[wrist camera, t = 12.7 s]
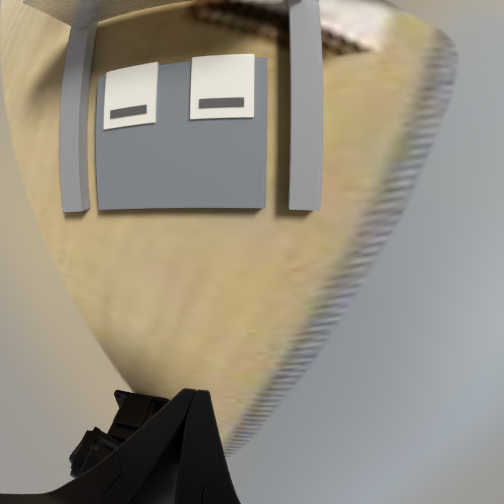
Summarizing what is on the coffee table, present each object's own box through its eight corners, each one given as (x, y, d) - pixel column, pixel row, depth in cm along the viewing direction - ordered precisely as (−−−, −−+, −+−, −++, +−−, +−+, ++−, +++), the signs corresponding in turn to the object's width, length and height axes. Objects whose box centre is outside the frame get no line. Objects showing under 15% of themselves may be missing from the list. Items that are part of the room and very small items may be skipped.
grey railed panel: (317, 207, 19) (320, 211, 18) (71, 209, 20) (62, 212, 19) (315, -1, 14) (318, -10, 13) (79, 28, 15) (71, 24, 14)
